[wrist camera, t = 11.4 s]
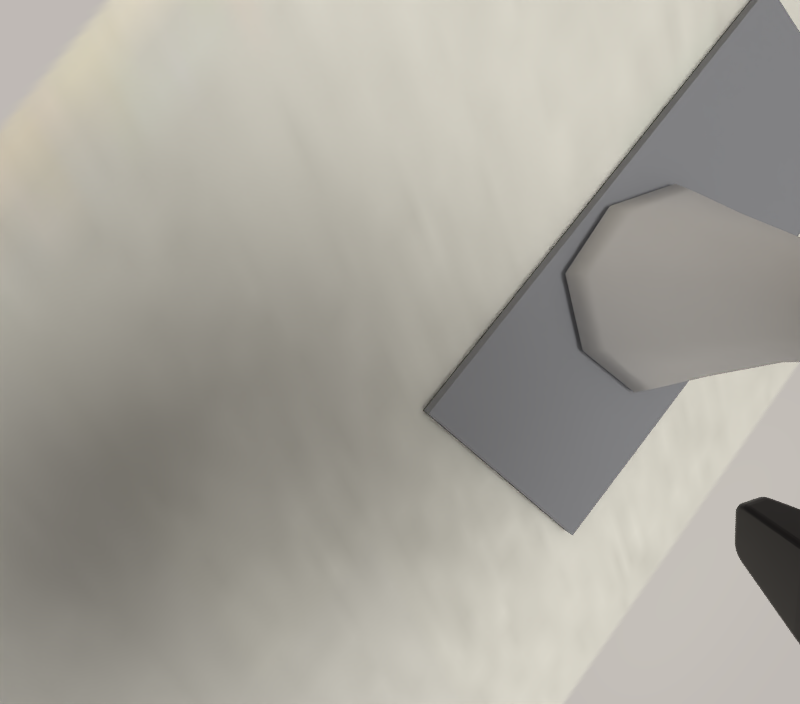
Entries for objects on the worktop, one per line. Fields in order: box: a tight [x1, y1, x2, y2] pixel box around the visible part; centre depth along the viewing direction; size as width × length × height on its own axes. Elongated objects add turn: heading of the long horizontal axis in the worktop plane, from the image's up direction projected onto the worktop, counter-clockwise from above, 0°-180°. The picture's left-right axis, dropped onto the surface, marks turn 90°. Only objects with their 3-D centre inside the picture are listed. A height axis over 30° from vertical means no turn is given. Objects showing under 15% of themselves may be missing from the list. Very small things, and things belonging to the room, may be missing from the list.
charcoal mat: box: [424, 0, 800, 535], centre depth 25 cm, size 20×8×1 cm, turn 138°
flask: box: [565, 184, 800, 392], centre depth 20 cm, size 7×7×10 cm
